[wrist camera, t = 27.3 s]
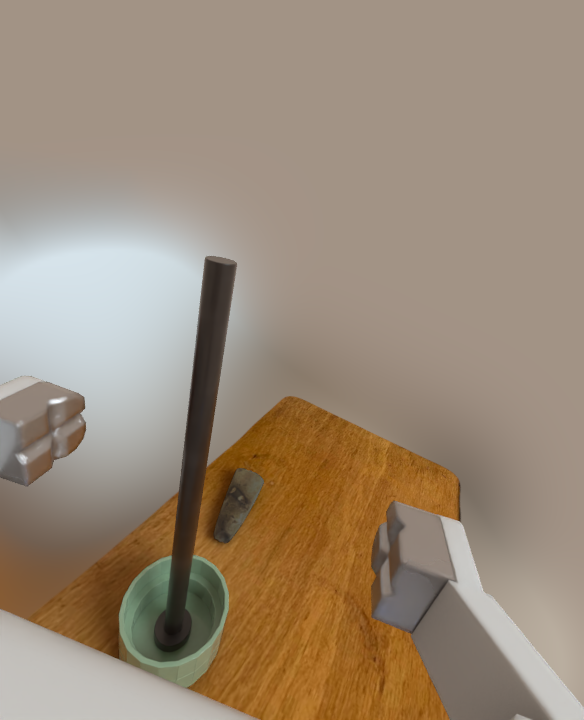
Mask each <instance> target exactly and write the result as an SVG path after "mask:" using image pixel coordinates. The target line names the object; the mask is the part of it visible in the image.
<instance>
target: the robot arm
mask: <svg viewBox="0 0 584 720" xmlns="http://www.w3.org/2000/svg"><path fill="white" fill-rule="evenodd" d="M84 409H85V400H84V397H83V396H82V395H80V394H79V393H76V392H74V391H71V390H68V389H65V388H62V387H60V386H57V385H54V384H52V383H49V382H45V381H42V380H40V379H37V378H34V377H32V376H21V377H18V378H16V379H14V380H11V381H9V382H7V383H4V384H2V385H0V477H1V478H3V479H7V480H9V481H12V482H15V483H18V484H21V485H24V486H28V485H30V484H31V483H33V482H34V481H35V480H36V479H38V478H39V477H40V476H42V475H43V474H44V473H46V472H47V471H48V470H50V469H51V468H52V465H53V462H54V460H56V459H59V458H63V457H66V456H68V455H69V454H70V453H72V452H73V451H74V450H75V449H77V447H78V445H79V444H80V443H81V441H82V440H83V438H84V434H85V431H86V422H85V420H84V419H83V417H82V415H81V414H80V413H81V412H82V411H83V410H84ZM386 516H387V522H385V523H383V524H381V525H380V526H379V528H378V530H377V533H376V535H375V539H374V543H373V547H372V556H371V567H372V569H373V571H374V572H375V574H376V578H375V580H374V582H373V584H372V586H371V600H372V618H374V619H377V620H379V621H382V622H384V623H386V624H389V625H391V626H394V627H396V628H399V629H401V630H403V631H406V632H408V633H411V634H412V635H411V637H412V640H413V642H414V644H415V646H416V648H417V650H418V652H419V654H420V657H421V659H422V661H423V663H424V665H425V667H426V669H427V671H428V674H429V676H430V678H431V680H432V682H433V684H434V686H435V688H436V691H437V693H438V695H439V697H440V699H441V701H442V703H443V705H444V707H445V710H446V712H447V714H448V716H449V718H450V720H584V708H583V706H582V705H581V704H580V703H579V701H578V700H577V699H576V698H575V696H574V695H573V694H572V693H571V692H570V690H569V689H568V688H567V687H566V685H564V683H563V682H562V681H561V679H560V678H559V677H558V676H557V675H556V673H555V672H554V671H553V670H552V669H551V667H550V666H549V665H548V664H547V662H546V661H545V660H544V659H543V657H542V656H541V655H540V654H539V653H538V652H537V650H536V649H535V648H534V647H533V645H532V644H531V643H530V642H529V640H528V639H527V638H526V637H525V636H524V634H523V633H522V632H521V631H520V629H519V628H518V627H517V626H516V625H515V623H514V622H513V621H512V620H511V619H510V617H509V616H508V615H507V614H506V612H505V611H504V610H503V609H502V608H501V606H500V605H499V604H498V603H497V601H496V600H495V599H494V598H493V597H492V595H489V594H487V593H484V591H483V588H482V585H481V581H480V578H479V575H478V572H477V569H476V566H475V562H474V559H473V556H472V553H471V550H470V547H469V543H468V541H467V537H466V534H465V531H464V528H463V525H462V524H461V523H460V522H459V521H456V520H453V519H450V518H447V517H444V516H441V515H435V514H433V513H430V512H427V511H424V510H421V509H418V508H415V507H412V506H409V505H406V504H403V503H400V502H397V501H393V502H392V503H391V504H390V506H389V508H388V509H387V511H386ZM0 720H259V719H257V718H255V717H252V716H250V715H248V714H245V713H243V712H241V711H238V710H236V709H234V708H231V707H229V706H227V705H224V704H222V703H220V702H217V701H215V700H213V699H210V698H208V697H206V696H203V695H201V694H199V693H196V692H194V691H192V690H189V689H187V688H185V687H182V686H180V685H178V684H175V683H173V682H171V681H168V680H166V679H164V678H161V677H159V676H156V675H154V674H152V673H149V672H147V671H145V670H142V669H140V668H138V667H135V666H133V665H131V664H128V663H126V662H124V661H121V660H119V659H117V658H114V657H112V656H110V655H107V654H105V653H103V652H100V651H98V650H96V649H93V648H91V647H89V646H86V645H84V644H82V643H79V642H77V641H75V640H72V639H70V638H67V637H65V636H63V635H60V634H58V633H56V632H53V631H51V630H49V629H46V628H44V627H42V626H39V625H37V624H35V623H32V622H30V621H28V620H25V619H23V618H21V617H18V616H16V615H14V614H11V613H9V612H7V611H4V610H2V609H0Z"/></svg>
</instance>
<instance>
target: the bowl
mask: <svg viewBox="0 0 584 720" xmlns="http://www.w3.org/2000/svg"><path fill="white" fill-rule="evenodd" d="M171 559H172V555H171V556H168V557H164V558H161V559H159V560H157V561H156V562H154V563H152V564H151V565H149V566H147V567H146V568H145V569H144V570H143V571H142V572H141V573H140V574H139V575H138V576H137V577H136V578H135V579H134V580H133V581H132V583H131V585H130V586H129V588H128V590H127V592H126V593H125V595H124V597H123V601H122V604H121V608H120V612H119V634H118V647H119V660H121V661H124V662H126V663H128V664H131V665H133V666H135V667H138V668H140V669H142V670H145V671H147V672H149V673H152V674H154V675H156V676H159V677H161V678H164V679H166V680H168V681H171V682H173V683H175V684H178V685H180V686H182V687H185V688H187V687H189V686H191V685H192V684H193V683H194V682H195V681H196V680H197V679H198V678H200V677H201V676H202V675H203V674H204V673H205V672H206V670H207V669H208V668H209V666H210V664H211V663H212V661H213V659H214V658H215V656H216V654H217V652H218V648H219V645H220V641H221V638H222V634H223V630H224V626H225V622H226V618H227V614H228V609H229V593H228V589H227V586H226V582H225V579H224V577H223V576H222V574H221V573H220V571H219V570H218V569H217V567H216V566H215V565H213V564H212V563H211V562H209V561H208V560H206V559H205V558H202V557H199V556H196V555H193V559H192V566H191V573H190V579H189V586H188V592H187V599H186V606H185V609H186V610H187V611H188V612H189V613H190V615H191V619H192V626H191V632H190V635H189V638H188V640H187V642H186V643H185V644H184V645H183V646H182V647H181V648H180V649H178V650H176V651H173V652H164V651H162V650H160V649H159V648H158V647H157V646H156V644H155V641H154V628H155V623H156V621H157V619H158V617H159V616H160V614H161V613H162V612H163V611H164V610H166V604H167V595H168V586H169V577H170V568H171Z"/></svg>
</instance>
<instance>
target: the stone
mask: <svg viewBox="0 0 584 720" xmlns="http://www.w3.org/2000/svg"><path fill="white" fill-rule="evenodd" d="M263 484H264V480H263V479H262V477H261V476H260V475H258V474H257V473H254V472H252V471H248V470H246V469H243V468H239V469H237V470H236V472H235V474H234V476H233V479H232V481H231V484H230V486H229V489H228V491H227V494H226V497H225V500H224V503H223V505H222V508H221V511H220V514H219V517H218V520H217V523H216V527H215V531H214V538H215V539H217V540H218V541H220V542H223V543H228V542H229V541H230V540H231V539H232V538H233V536H234V535H235V534H236V532H237V531H238V529H239V528H240V527H241V525H242V524H243V522H244V520H245V519H246V517H247V515H248V514H249V512H250V510H251V508H252V506H253V505H254V503H255V501H256V499H257V497H258V495H259V492H260V490H261V488H262V486H263Z"/></svg>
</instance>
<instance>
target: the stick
mask: <svg viewBox="0 0 584 720" xmlns="http://www.w3.org/2000/svg"><path fill="white" fill-rule="evenodd" d="M236 267H237V263H236V262H235V261H233V260H230V259H226V258H222V257H216V256H207V257H206V258H205V263H204V272H203V281H202V290H201V299H200V308H199V317H198V326H197V335H196V344H195V353H194V362H193V371H192V380H191V389H190V398H189V407H188V415H187V426H186V433H185V442H184V451H183V460H182V469H181V479H180V487H179V496H178V505H177V514H176V523H175V532H174V541H173V550H172V559H171V568H170V577H169V586H168V595H167V604H166V610H164V611H163V612H162V613H161V614H160V616H159V617H158V619H157V621H156V623H155V628H154V641H155V644H156V646H157V647H158V648H159V649H160V650H162V651H164V652H173V651H176V650H178V649H180V648H181V647H182V646H183V645H184V644H185V643H186V642H187V640H188V638H189V635H190V632H191V626H192V619H191V615H190V613H189V612H188V611H187V610H186V609H185V606H186V599H187V592H188V586H189V579H190V573H191V566H192V559H193V553H194V546H195V539H196V533H197V526H198V520H199V513H200V506H201V500H202V493H203V486H204V480H205V473H206V466H207V460H208V453H209V446H210V440H211V433H212V427H213V420H214V412H215V406H216V400H217V394H218V387H219V380H220V374H221V367H222V359H223V354H224V347H225V340H226V334H227V327H228V321H229V314H230V307H231V301H232V294H233V287H234V281H235V274H236Z"/></svg>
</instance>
